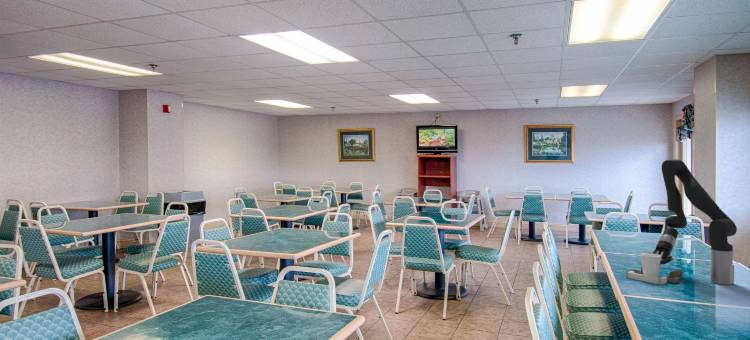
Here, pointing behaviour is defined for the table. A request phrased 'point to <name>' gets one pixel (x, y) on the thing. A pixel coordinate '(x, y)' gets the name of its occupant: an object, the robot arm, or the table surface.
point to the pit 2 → (673, 279)
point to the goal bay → (646, 278)
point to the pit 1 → (637, 271)
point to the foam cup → (650, 264)
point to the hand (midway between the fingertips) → (654, 268)
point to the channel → (674, 273)
